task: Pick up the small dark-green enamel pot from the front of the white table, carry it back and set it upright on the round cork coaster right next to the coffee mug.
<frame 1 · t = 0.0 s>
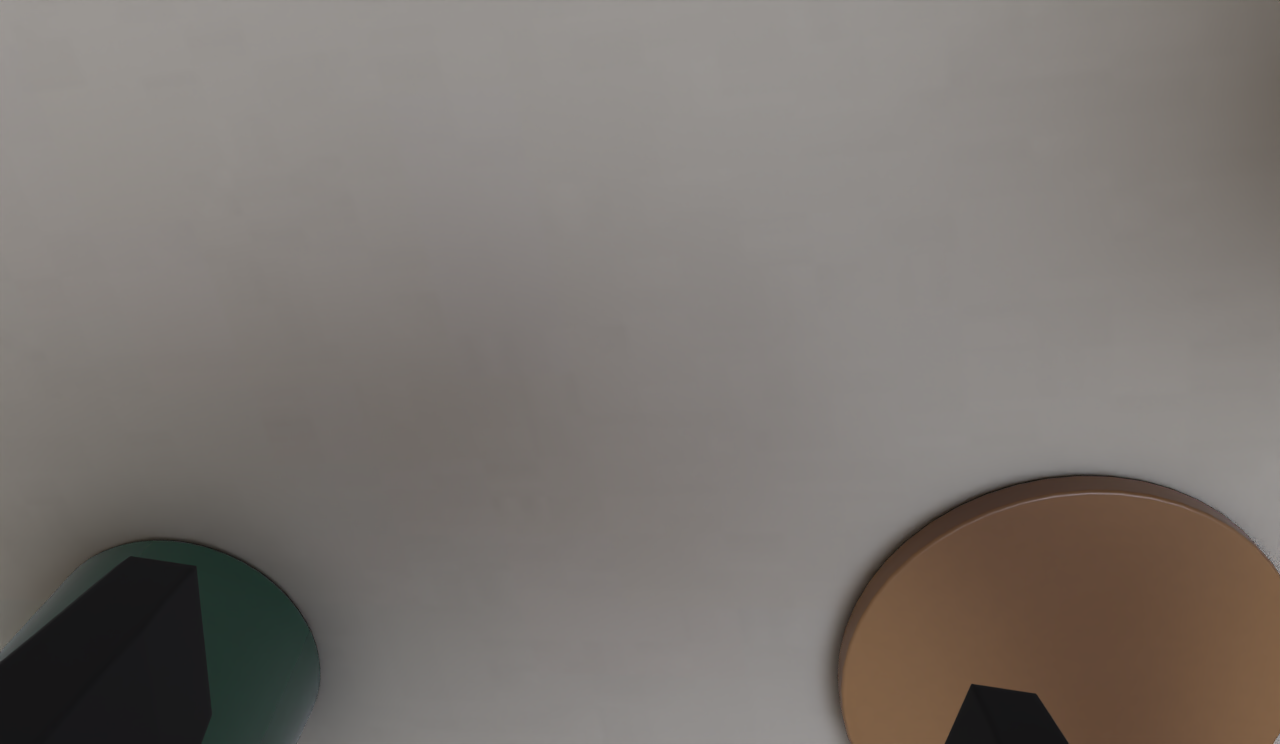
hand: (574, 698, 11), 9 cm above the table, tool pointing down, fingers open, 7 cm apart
pot: (186, 654, 22), on the table
coaster: (1058, 667, 21), on the table
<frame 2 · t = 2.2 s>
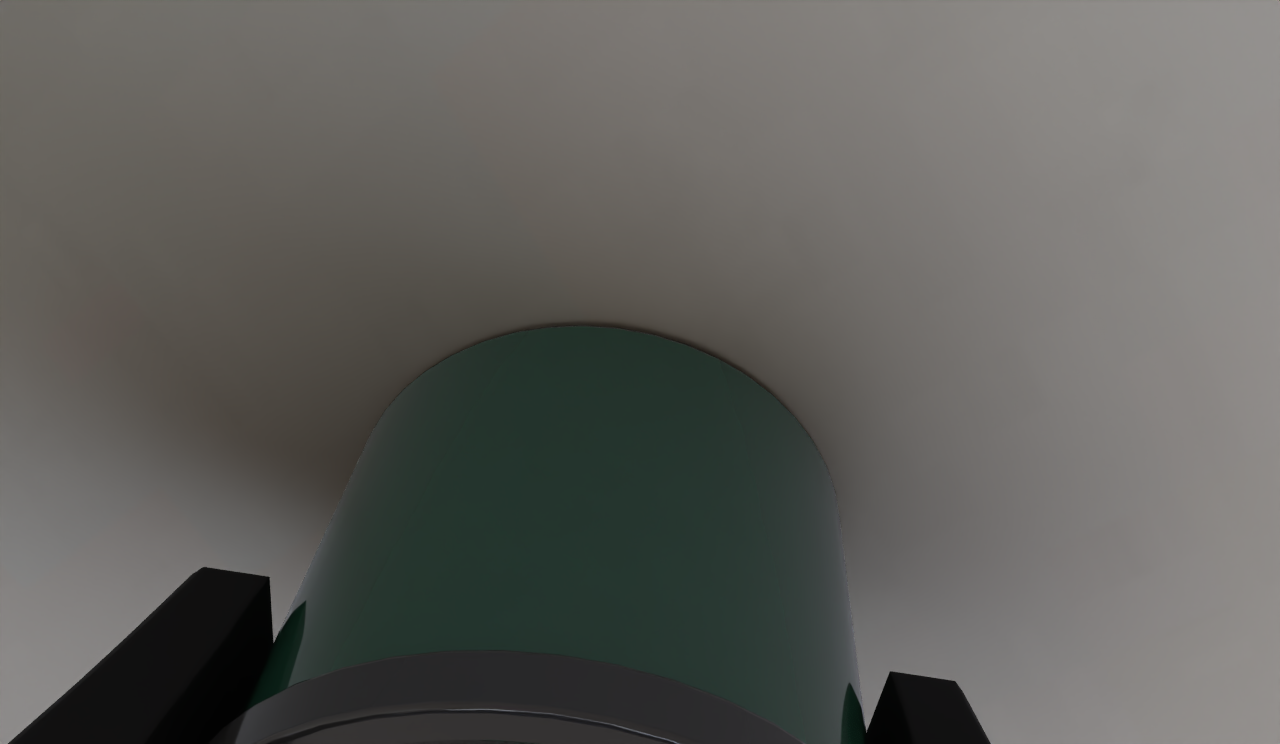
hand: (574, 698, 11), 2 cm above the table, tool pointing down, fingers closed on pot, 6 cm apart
pot: (596, 529, 13), on the table, touching gripper
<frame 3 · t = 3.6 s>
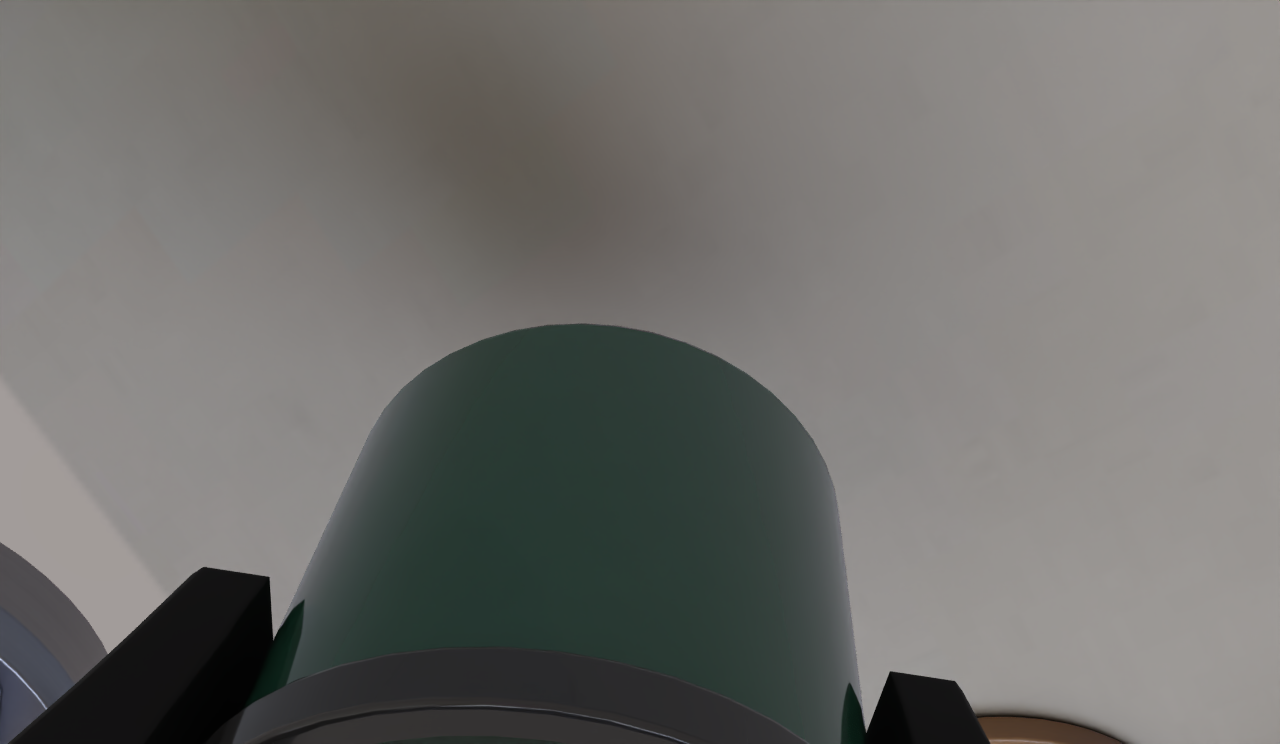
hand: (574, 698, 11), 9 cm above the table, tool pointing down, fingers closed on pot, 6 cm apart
pot: (595, 527, 13), point 6 cm above the table, touching gripper
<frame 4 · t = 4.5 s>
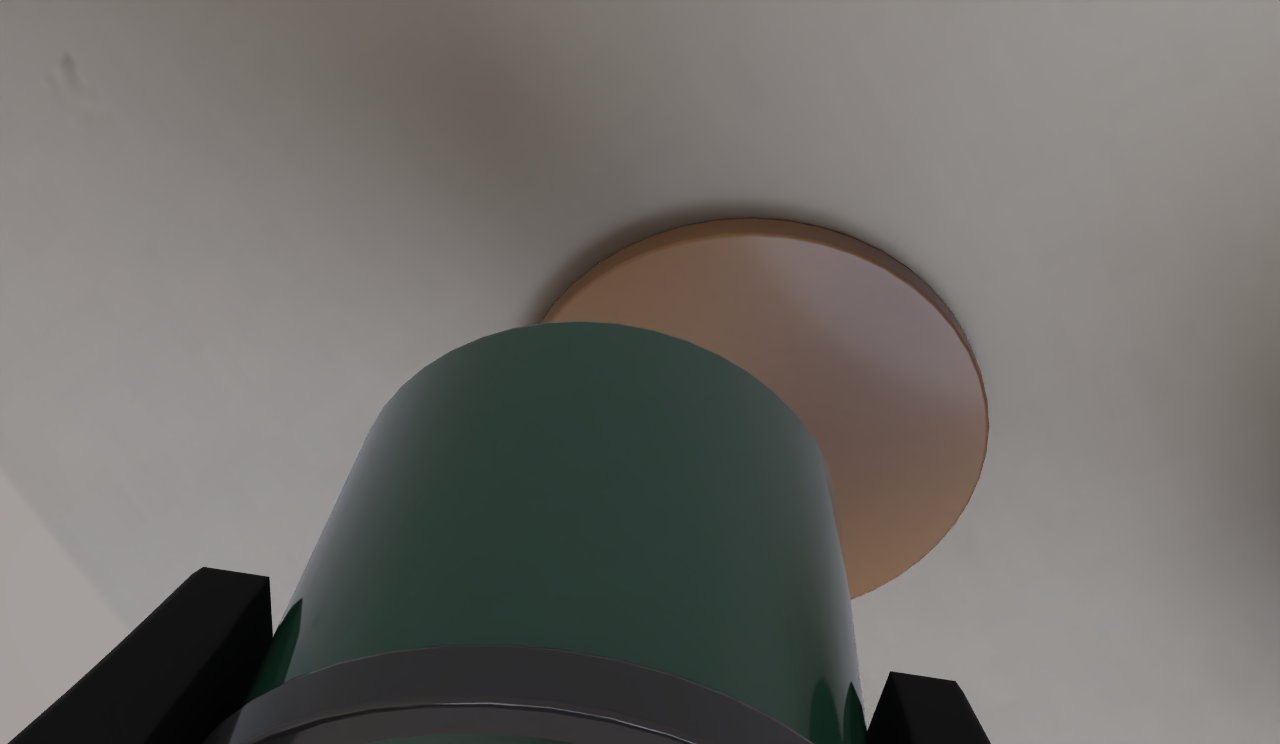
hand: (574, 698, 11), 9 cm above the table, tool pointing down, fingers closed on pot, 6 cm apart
pot: (595, 525, 13), point 7 cm above the table, touching gripper
coaster: (744, 428, 20), on the table
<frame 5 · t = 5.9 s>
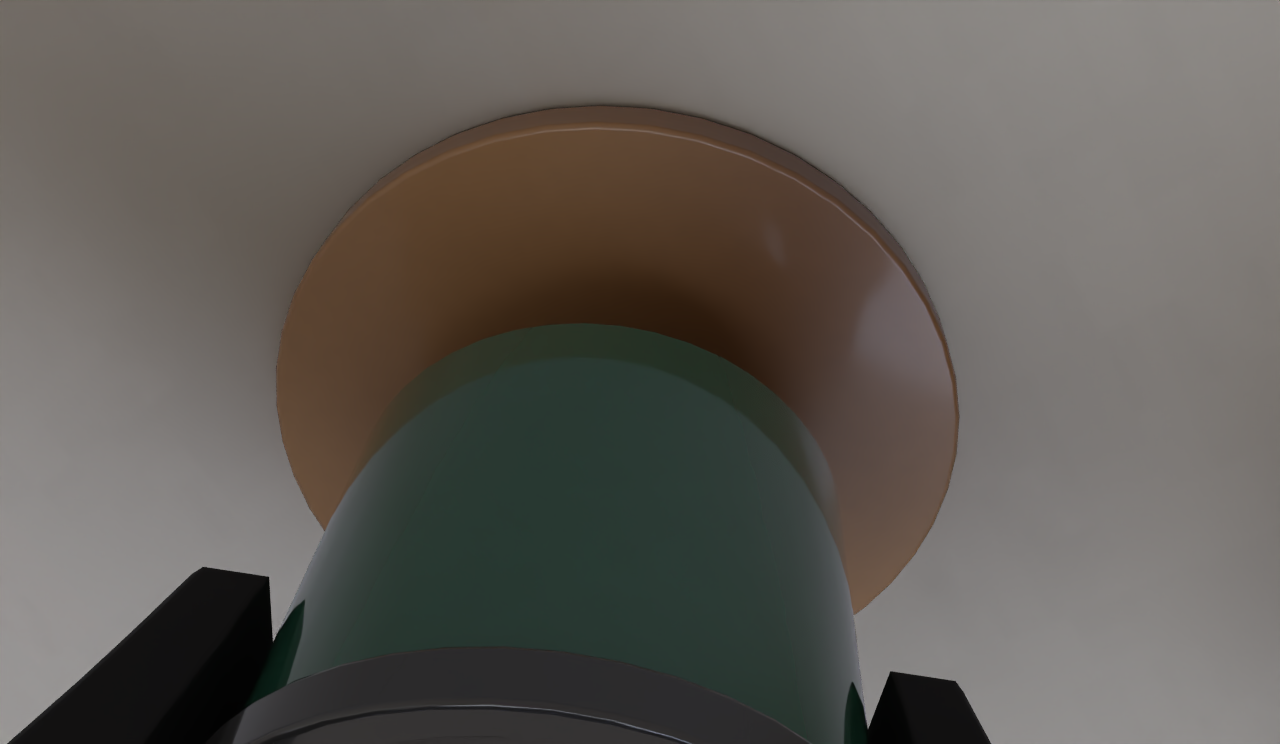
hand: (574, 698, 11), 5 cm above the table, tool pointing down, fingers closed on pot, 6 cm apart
pot: (596, 526, 13), point 2 cm above the table, touching gripper
coaster: (615, 421, 14), on the table
when the fingers open (3 cm above the table, at t = 7.0 s): pot stays where it is, resting on coaster.
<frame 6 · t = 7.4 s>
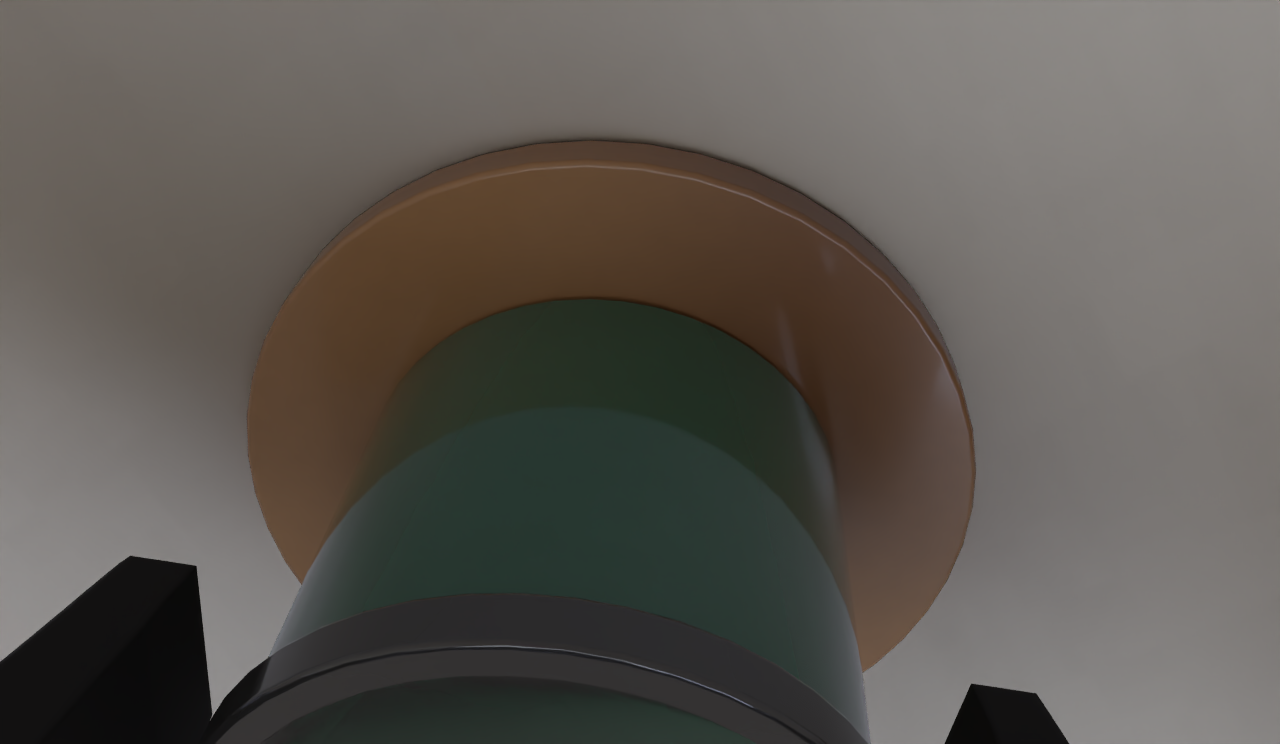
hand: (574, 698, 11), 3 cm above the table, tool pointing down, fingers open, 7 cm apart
pot: (602, 499, 13), point 1 cm above the table, touching coaster
coaster: (609, 470, 13), on the table
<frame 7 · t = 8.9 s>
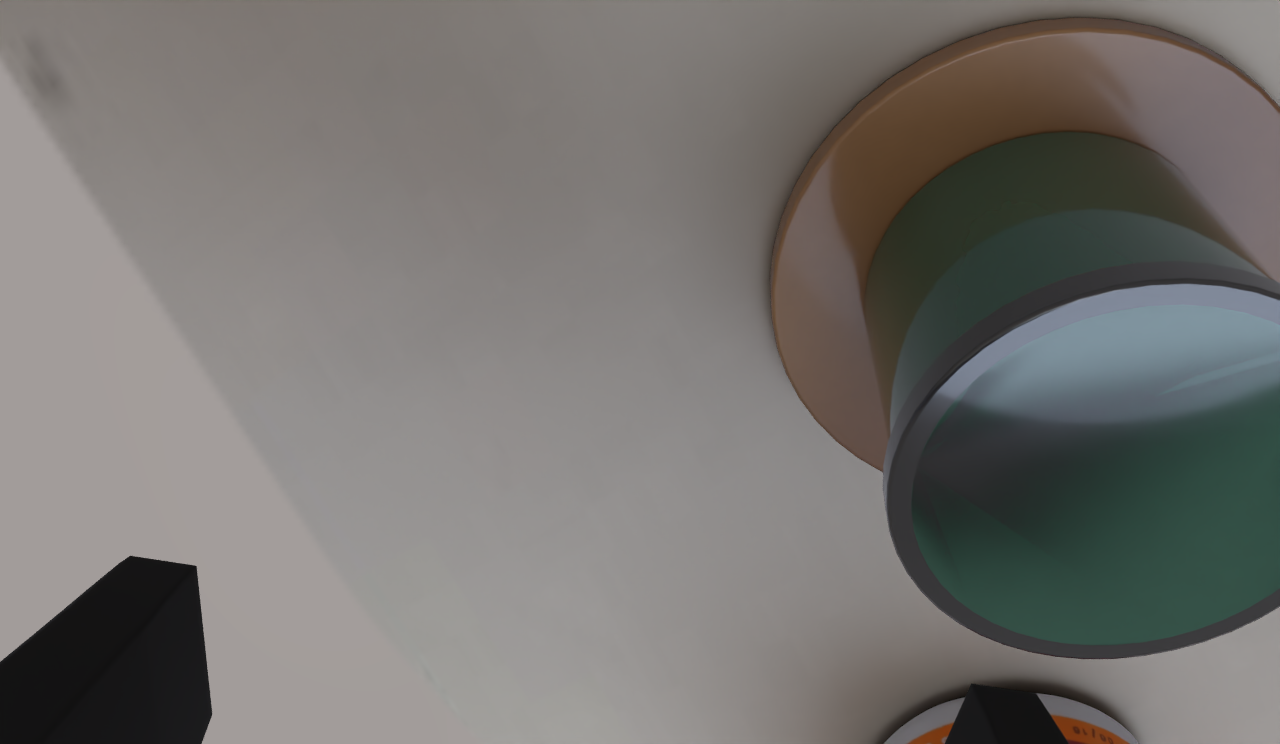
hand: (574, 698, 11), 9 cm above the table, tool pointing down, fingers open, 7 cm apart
pot: (1036, 292, 18), point 1 cm above the table, touching coaster
coaster: (1029, 277, 18), on the table
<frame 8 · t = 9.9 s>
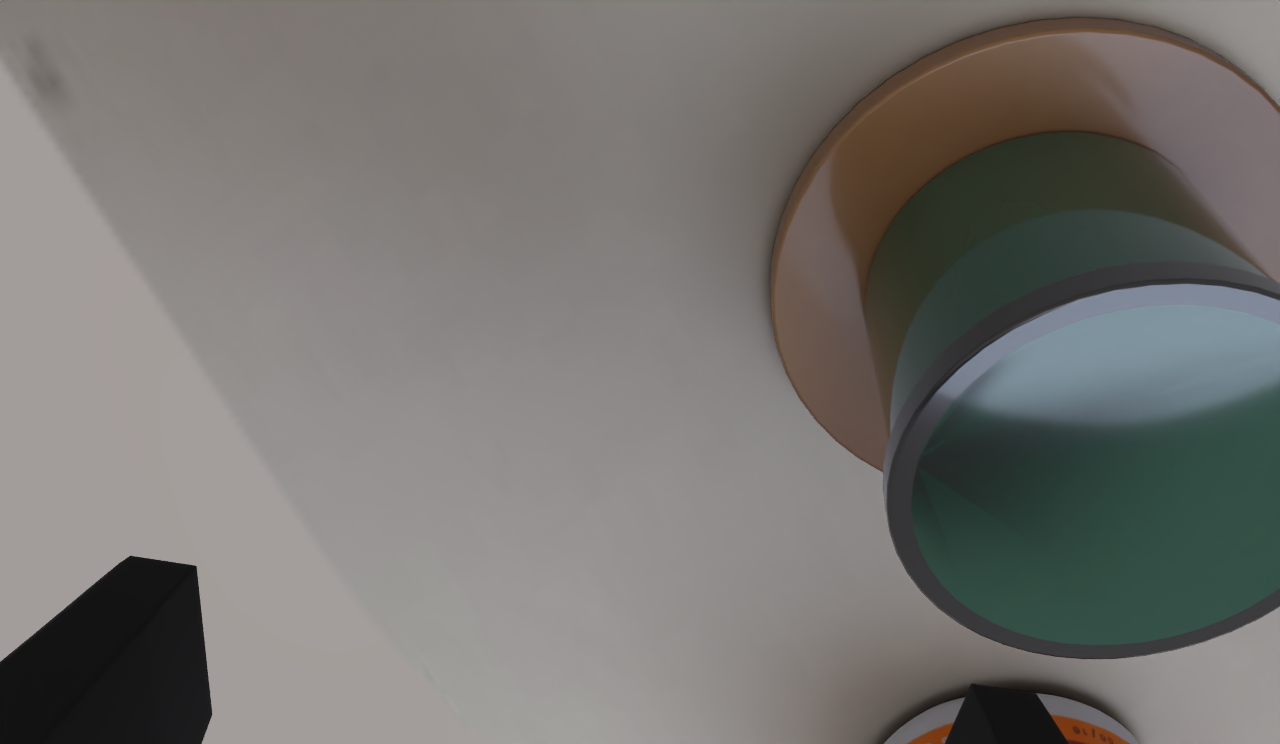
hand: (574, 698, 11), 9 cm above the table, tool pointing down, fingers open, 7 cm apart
pot: (1036, 292, 18), point 1 cm above the table, touching coaster
coaster: (1029, 277, 18), on the table
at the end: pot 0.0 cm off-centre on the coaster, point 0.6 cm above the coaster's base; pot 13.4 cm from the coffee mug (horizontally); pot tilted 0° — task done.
